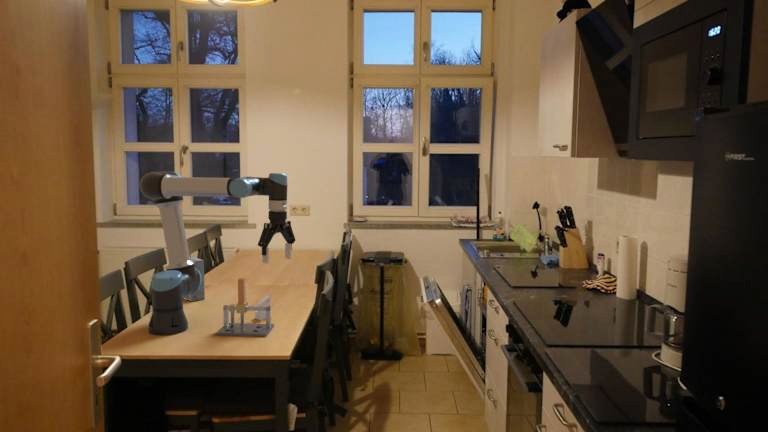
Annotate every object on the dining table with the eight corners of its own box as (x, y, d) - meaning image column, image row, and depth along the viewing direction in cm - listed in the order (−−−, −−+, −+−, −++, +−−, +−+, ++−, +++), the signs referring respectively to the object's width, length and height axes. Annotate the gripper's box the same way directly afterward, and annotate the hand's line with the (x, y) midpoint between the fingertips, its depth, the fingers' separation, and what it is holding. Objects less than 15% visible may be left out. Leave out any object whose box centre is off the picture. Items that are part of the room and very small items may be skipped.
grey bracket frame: (223, 327, 223) (223, 305, 222) (225, 325, 226) (224, 304, 225) (269, 328, 222) (269, 306, 222) (270, 326, 225) (270, 304, 224)
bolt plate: (216, 335, 216) (216, 332, 216) (226, 325, 229) (226, 322, 229) (266, 336, 215) (266, 333, 215) (274, 326, 228) (274, 323, 228)
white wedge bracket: (278, 309, 245) (270, 295, 241) (262, 325, 239) (254, 310, 235) (273, 308, 247) (265, 293, 243) (257, 323, 241) (249, 308, 237)
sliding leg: (236, 326, 222) (235, 279, 220) (239, 324, 226) (238, 277, 224) (245, 327, 222) (244, 279, 220) (248, 324, 226) (247, 278, 224)
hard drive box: (205, 299, 272) (204, 260, 270) (190, 302, 266) (189, 262, 264) (190, 294, 282) (189, 256, 280) (175, 296, 277) (174, 257, 275)
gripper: (263, 213, 214) (262, 266, 216) (304, 209, 235) (303, 257, 238) (249, 211, 218) (248, 263, 220) (290, 208, 239) (290, 255, 241)
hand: (277, 260), depth 229 cm, fingers open, 13 cm apart
